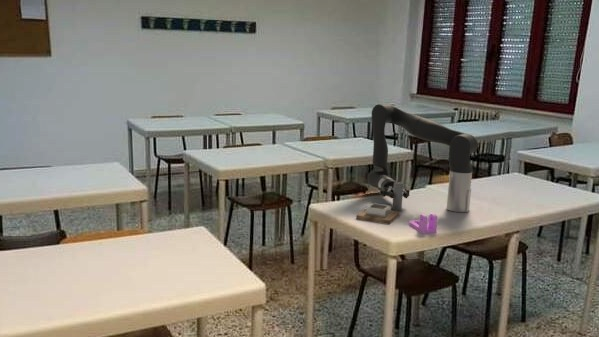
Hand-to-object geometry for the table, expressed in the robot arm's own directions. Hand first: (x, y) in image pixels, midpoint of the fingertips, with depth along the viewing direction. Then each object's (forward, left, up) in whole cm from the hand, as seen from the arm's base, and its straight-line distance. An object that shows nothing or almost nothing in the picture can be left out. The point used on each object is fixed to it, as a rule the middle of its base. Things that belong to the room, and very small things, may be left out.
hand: (399, 196), depth 229 cm
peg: (+1, -2, -7) cm, 7 cm away
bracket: (-14, +17, -7) cm, 23 cm away
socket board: (+5, +12, -7) cm, 15 cm away
